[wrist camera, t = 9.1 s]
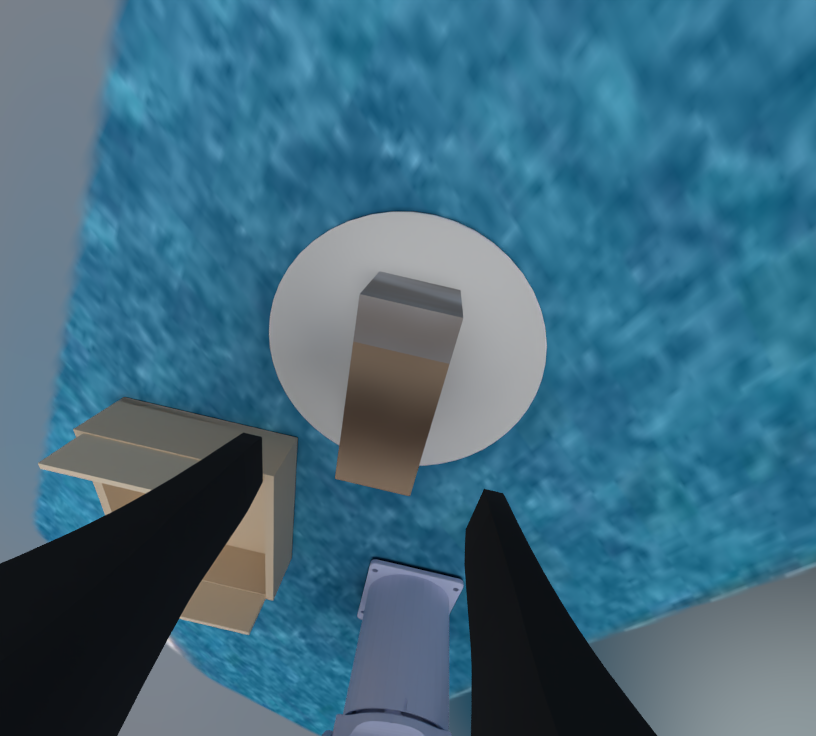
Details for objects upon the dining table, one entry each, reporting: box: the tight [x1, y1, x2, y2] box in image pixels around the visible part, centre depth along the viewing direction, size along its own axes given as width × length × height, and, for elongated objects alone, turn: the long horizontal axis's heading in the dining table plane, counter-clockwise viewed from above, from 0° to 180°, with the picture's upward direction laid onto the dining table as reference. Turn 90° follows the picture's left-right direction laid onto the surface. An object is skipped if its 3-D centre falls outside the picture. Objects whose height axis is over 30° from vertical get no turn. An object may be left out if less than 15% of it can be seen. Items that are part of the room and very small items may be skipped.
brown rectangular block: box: [335, 271, 463, 496], centre depth 17 cm, size 10×4×4 cm, turn 169°
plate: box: [269, 211, 547, 465], centre depth 19 cm, size 15×15×1 cm
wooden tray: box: [38, 397, 298, 635], centre depth 24 cm, size 14×12×6 cm
